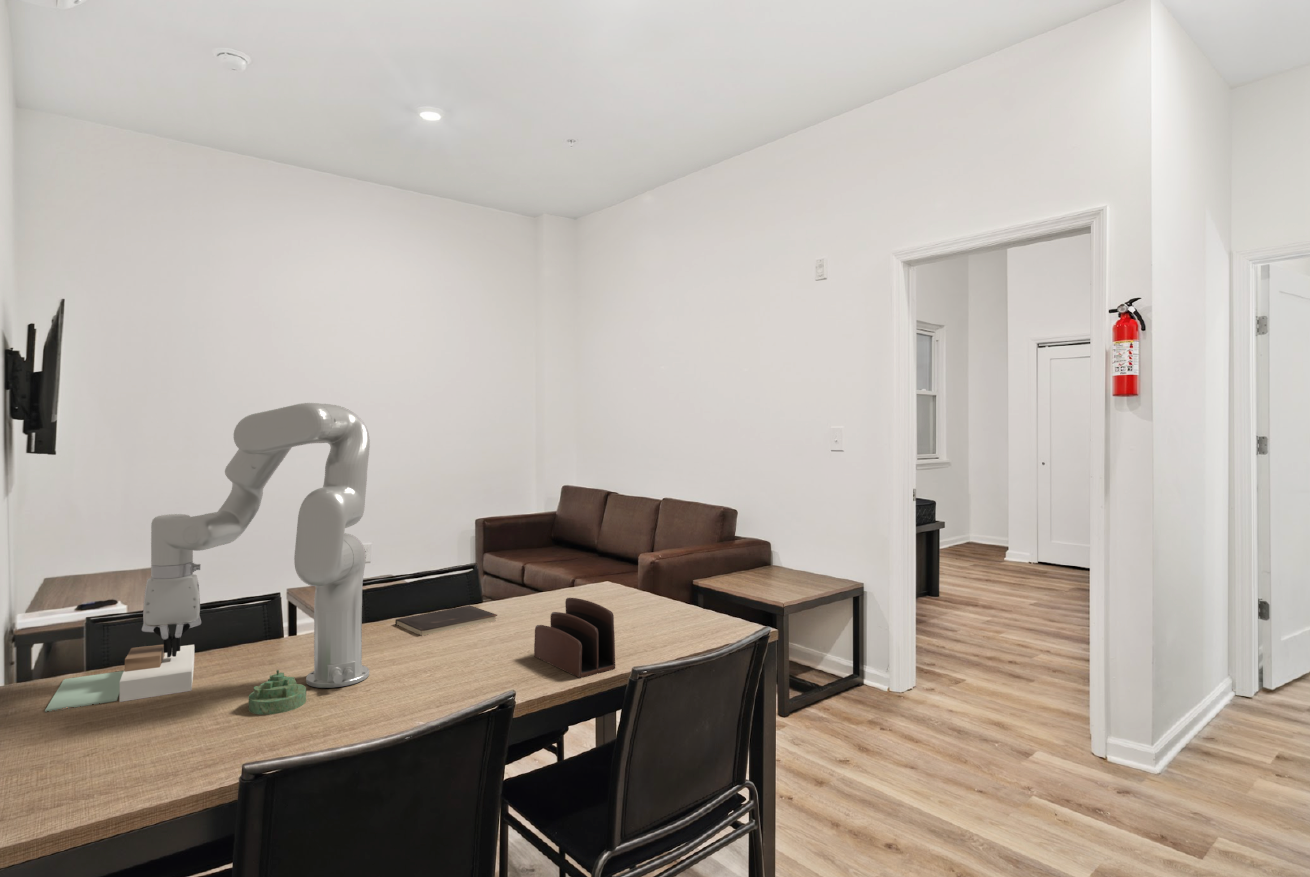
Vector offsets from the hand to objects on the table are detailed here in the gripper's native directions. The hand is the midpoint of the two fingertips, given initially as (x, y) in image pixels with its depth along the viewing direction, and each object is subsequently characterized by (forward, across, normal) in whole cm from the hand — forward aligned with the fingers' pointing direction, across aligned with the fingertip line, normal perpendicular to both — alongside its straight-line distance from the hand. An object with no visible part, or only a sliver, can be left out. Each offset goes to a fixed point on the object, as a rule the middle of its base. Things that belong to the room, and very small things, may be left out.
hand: (172, 655), depth 154 cm
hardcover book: (+6, -64, -15) cm, 66 cm away
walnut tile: (0, +5, 0) cm, 5 cm away
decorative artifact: (+5, -19, +29) cm, 35 cm away
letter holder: (+5, -80, +35) cm, 87 cm away
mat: (+5, +14, 0) cm, 15 cm away
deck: (+5, +2, 0) cm, 6 cm away
